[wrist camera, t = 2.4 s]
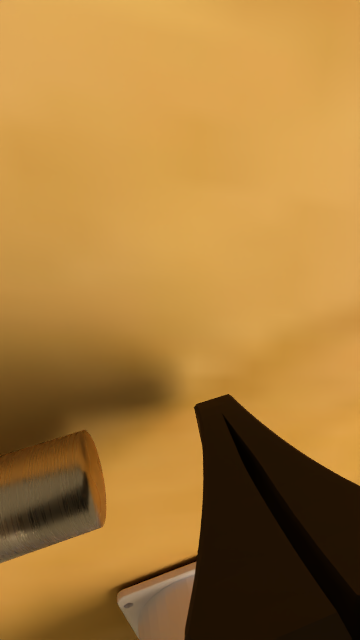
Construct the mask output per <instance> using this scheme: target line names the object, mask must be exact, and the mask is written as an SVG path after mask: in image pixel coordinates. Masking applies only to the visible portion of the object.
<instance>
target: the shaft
mask: <svg viewBox="0 0 360 640" xmlns="http://www.w3.org/2000/svg"><path fill="white" fill-rule="evenodd" d="M105 518H106V493H105V485H104V478H103V473H102V468H101V464H100V460H99V456H98V453H97V450H96V447H95V444H94V442H93V440H92V438H91V436H90V434H89V433H88V432H87V431H86V430H82V431H79V432H76V433H72V434H69V435H66V436H63V437H60V438H56V439H53V440H50V441H47V442H44V443H40V444H37V445H34V446H31V447H27V448H24V449H21V450H18V451H15V452H11V453H8V454H5V455H2V456H0V563H2V562H5V561H8V560H11V559H14V558H16V557H19V556H22V555H25V554H28V553H31V552H33V551H36V550H39V549H42V548H45V547H48V546H50V545H53V544H56V543H59V542H62V541H64V540H67V539H70V538H73V537H76V536H79V535H81V534H84V533H87V532H90V531H93V530H96V529H98V528H101V527H103V525H104V523H105Z"/></svg>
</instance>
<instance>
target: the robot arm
mask: <svg viewBox="0 0 360 640" xmlns="http://www.w3.org/2000/svg"><path fill="white" fill-rule="evenodd" d="M194 409H195V414H196V418H197V423H198V428H199V433H200V437H201V442H202V448H203V505H202V518H201V530H200V540H199V548H198V555H197V561H196V562H194V563H191V564H188V565H186V566H183V567H181V568H178V569H175V570H173V571H170V572H167V573H165V574H162V575H160V576H157V577H154V578H152V579H149V580H147V581H144V582H141V583H139V584H136V585H134V586H131V587H128V588H126V589H123V590H121V591H120V592H119V593H118V594H117V604H118V606H119V607H120V609H121V611H122V612H123V614H124V616H125V617H126V619H127V621H128V622H129V624H130V626H131V627H132V629H133V631H134V632H135V634H136V636H137V637H138V639H139V640H360V486H359V485H357V484H355V483H353V482H351V481H349V480H347V479H345V478H343V477H341V476H339V475H338V474H336V473H334V472H333V471H331V470H329V469H327V468H326V467H324V466H322V465H321V464H319V463H317V462H316V461H314V460H312V459H311V458H309V457H308V456H306V455H305V454H303V453H302V452H300V451H299V450H297V449H296V448H294V447H293V446H291V445H290V444H289V443H287V442H286V441H284V440H283V439H282V438H280V437H279V436H278V435H276V434H275V433H274V432H272V431H271V430H270V429H269V428H267V427H266V426H265V425H264V424H262V423H261V422H260V421H259V420H257V419H256V418H255V417H254V416H253V415H252V414H250V413H249V412H248V411H247V410H246V409H245V408H244V407H243V406H241V405H240V404H239V403H238V402H237V401H236V400H235V399H234V398H233V397H232V396H231V395H229V394H227V395H224V396H221V397H217V398H214V399H211V400H208V401H205V402H202V403H198V404H196V406H195V407H194Z"/></svg>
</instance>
